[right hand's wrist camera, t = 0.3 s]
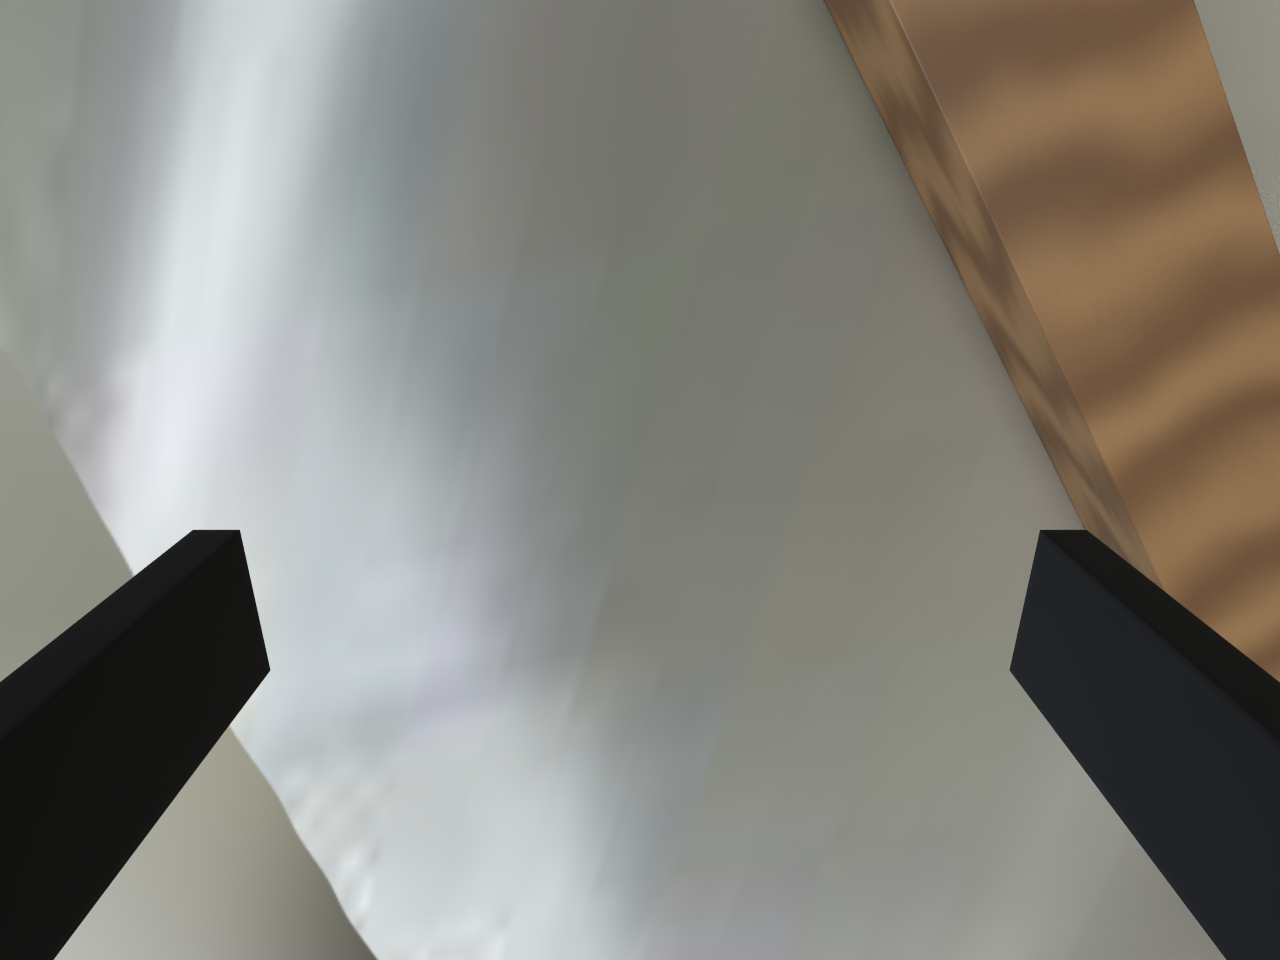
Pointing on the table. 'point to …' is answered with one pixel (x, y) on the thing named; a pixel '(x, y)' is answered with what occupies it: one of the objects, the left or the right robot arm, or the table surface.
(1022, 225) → the slab
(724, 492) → the table surface
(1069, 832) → the table surface
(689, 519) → the table surface
